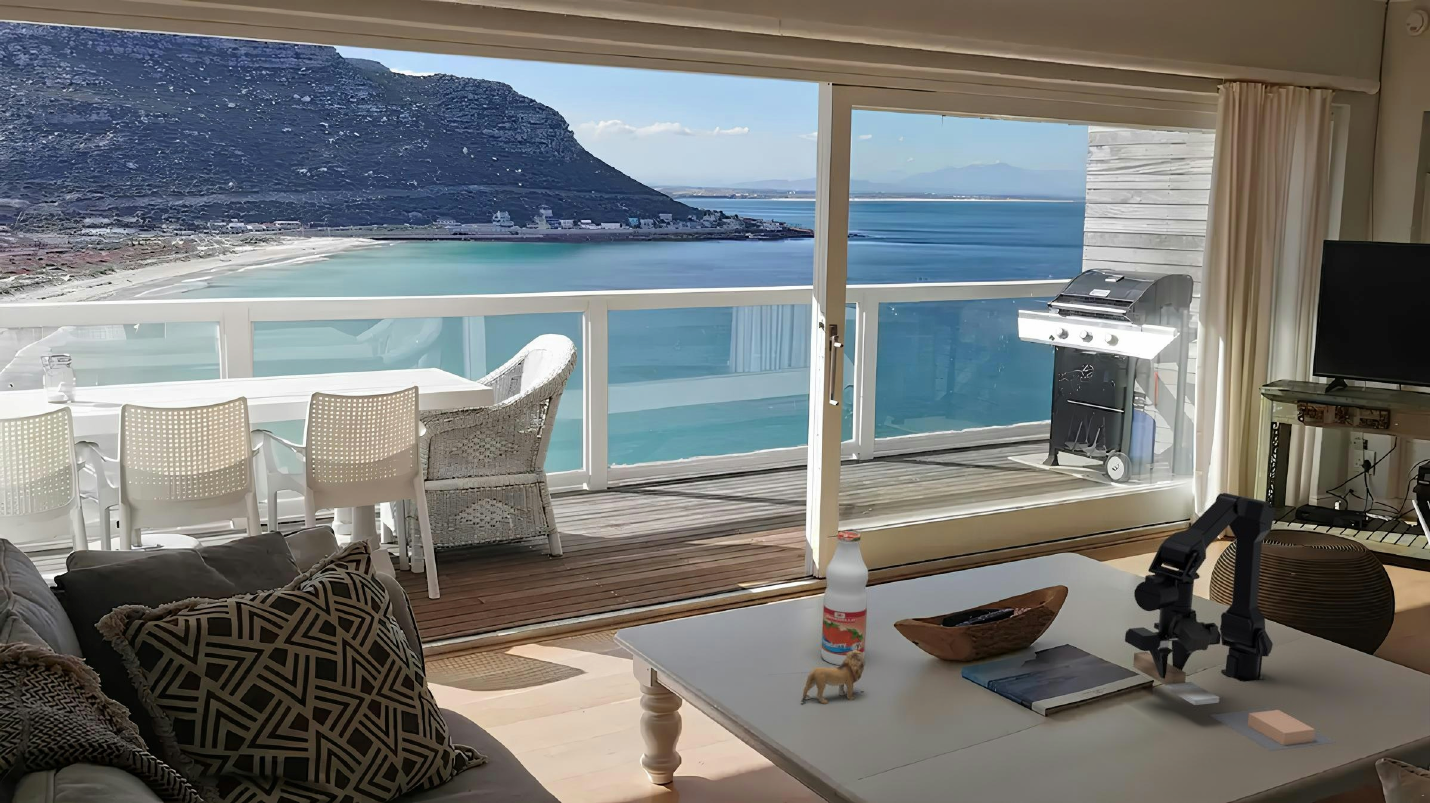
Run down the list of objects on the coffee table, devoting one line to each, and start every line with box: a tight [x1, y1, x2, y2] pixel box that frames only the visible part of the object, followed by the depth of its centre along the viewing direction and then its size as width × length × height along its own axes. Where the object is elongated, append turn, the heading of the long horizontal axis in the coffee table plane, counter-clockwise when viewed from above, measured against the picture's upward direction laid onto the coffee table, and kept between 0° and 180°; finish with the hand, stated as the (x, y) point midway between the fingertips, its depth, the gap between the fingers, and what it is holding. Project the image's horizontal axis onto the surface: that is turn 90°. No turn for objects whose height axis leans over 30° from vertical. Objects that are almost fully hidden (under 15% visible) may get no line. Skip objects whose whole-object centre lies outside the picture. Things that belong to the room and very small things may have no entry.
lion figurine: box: [800, 650, 866, 705], centre depth 229 cm, size 15×5×9 cm, turn 120°
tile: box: [1248, 709, 1316, 745], centre depth 219 cm, size 7×2×9 cm
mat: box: [1209, 707, 1336, 752], centre depth 221 cm, size 15×16×1 cm
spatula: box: [1132, 651, 1220, 706], centre depth 230 cm, size 20×6×3 cm, turn 17°
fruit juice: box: [820, 530, 869, 666], centre depth 249 cm, size 9×9×28 cm
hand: (1169, 677), depth 231 cm, fingers closed on spatula, 3 cm apart
